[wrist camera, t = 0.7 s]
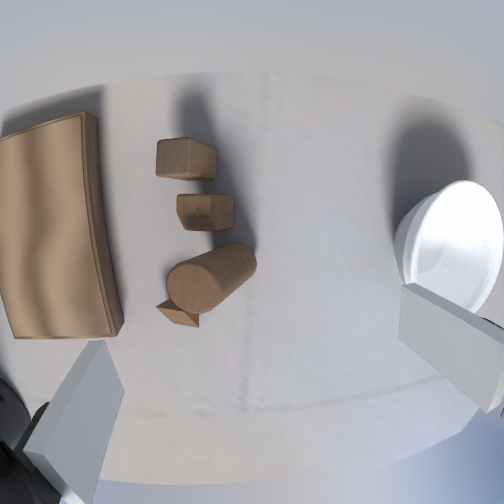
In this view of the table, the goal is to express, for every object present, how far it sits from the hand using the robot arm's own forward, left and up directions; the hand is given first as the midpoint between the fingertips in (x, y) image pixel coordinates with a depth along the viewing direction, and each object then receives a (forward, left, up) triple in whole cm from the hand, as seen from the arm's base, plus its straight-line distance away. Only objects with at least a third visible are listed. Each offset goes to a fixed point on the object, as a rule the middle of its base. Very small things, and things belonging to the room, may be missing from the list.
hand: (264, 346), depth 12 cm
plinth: (-19, +4, -20) cm, 28 cm away
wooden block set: (-2, +1, -20) cm, 20 cm away
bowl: (+24, -2, -20) cm, 31 cm away
